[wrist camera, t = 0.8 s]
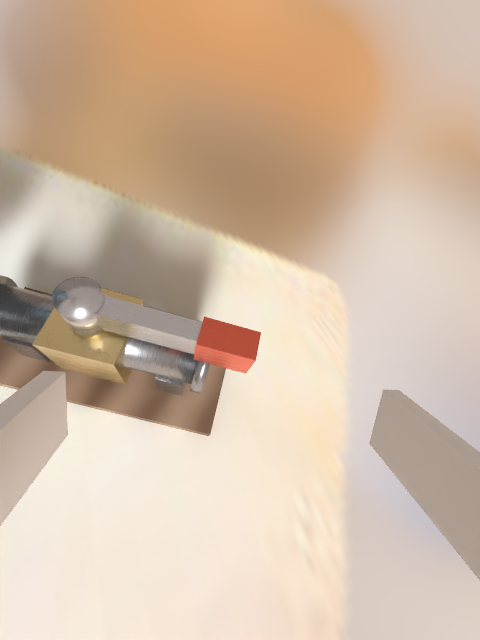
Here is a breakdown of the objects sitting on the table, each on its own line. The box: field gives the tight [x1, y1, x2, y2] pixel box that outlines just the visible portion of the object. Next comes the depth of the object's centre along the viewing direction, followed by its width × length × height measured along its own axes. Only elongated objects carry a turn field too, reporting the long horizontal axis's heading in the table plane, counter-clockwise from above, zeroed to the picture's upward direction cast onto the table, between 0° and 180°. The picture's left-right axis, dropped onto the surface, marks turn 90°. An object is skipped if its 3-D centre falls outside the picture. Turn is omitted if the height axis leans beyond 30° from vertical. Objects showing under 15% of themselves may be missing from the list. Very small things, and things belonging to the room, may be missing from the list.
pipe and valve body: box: [0, 275, 210, 396], centre depth 31 cm, size 23×7×10 cm, turn 77°
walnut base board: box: [0, 287, 226, 436], centre depth 37 cm, size 28×12×2 cm, turn 77°
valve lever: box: [52, 277, 261, 373], centre depth 25 cm, size 17×4×4 cm, turn 77°
